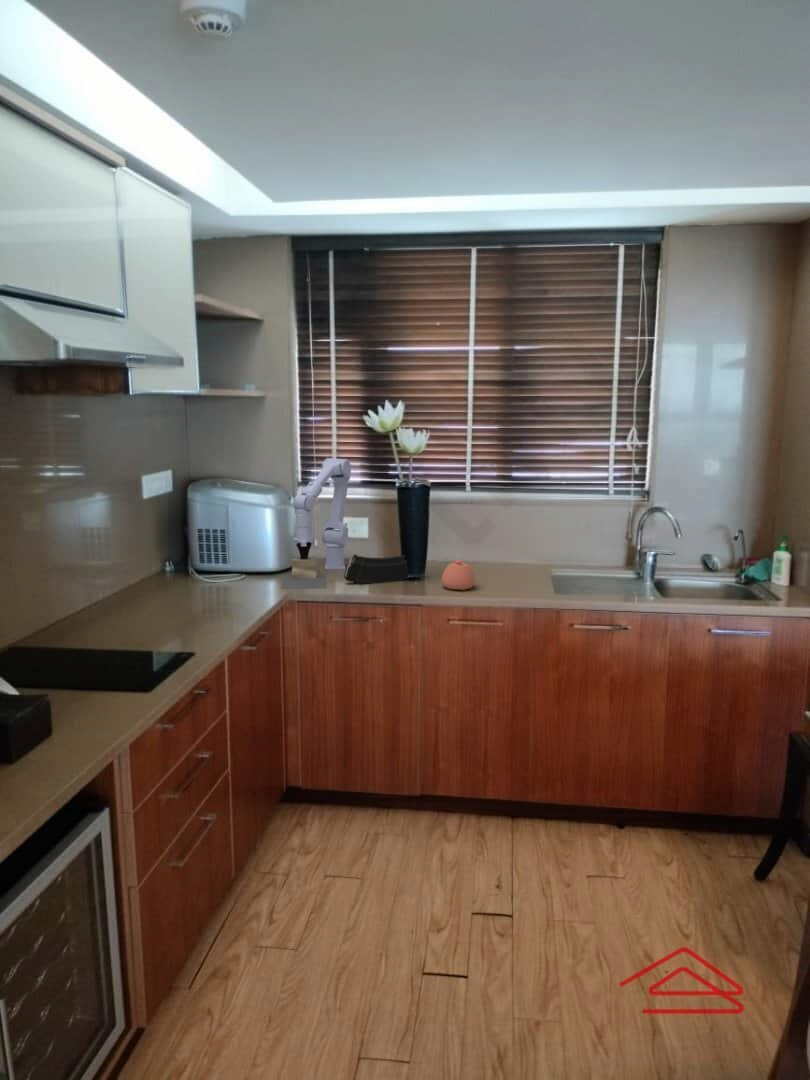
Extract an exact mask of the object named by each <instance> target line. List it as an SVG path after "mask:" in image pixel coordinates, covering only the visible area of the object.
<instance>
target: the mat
mask: <svg viewBox="0 0 810 1080" xmlns="http://www.w3.org/2000/svg"><path fill="white" fill-rule="evenodd" d="M280 589H281V590H294V589H295V590H297V589H299V590H300V589H308V590H309V589H327V577H326V574H316V578H302V579H292V574H284V575H283V578H282V581H281V588H280Z"/></svg>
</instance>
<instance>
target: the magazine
mask: <svg viewBox="0 0 810 1080" xmlns="http://www.w3.org/2000/svg"><path fill="white" fill-rule="evenodd" d="M404 555H405V554H403V556H402V555H397V556H396V555H395V556H386V557H369V556H367V557H366V556H360V555H359V556H358V554H353V556H352V557H351V558H350V559H349V561H348V565H345V569H344V570H345V571H344V574H343V577H344V579H345V581H347V582H353V584H354V585H356V584H357V583H359V584H382V583H392V582H398V581H403V580H404V581H405V580H407V579H406V578H407V577H408V567H407V561H406V560H405V556H404Z"/></svg>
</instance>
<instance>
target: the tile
mask: <svg viewBox="0 0 810 1080" xmlns="http://www.w3.org/2000/svg"><path fill="white" fill-rule="evenodd" d="M291 567H292V569H291V572H292V573H291V575H292V579H302V578H316V575H317V558H308V559H301V558H293V559H291Z"/></svg>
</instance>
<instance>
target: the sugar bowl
mask: <svg viewBox="0 0 810 1080" xmlns="http://www.w3.org/2000/svg"><path fill="white" fill-rule="evenodd" d="M441 584H442V585H443V586H444V588H446V589H447V590H449V591H452V590H459V591H461V590H465V591H466V590H468V589H471V588H473V586H474V585H475V584H476V578H475V574H474V571H473V570H472V568H471V566H470V565H469V564H467V563H464V562H463V560H459V559H458V560H455V562H452V563H448V565H447V566H446V567H445V569H444V570H443V573H442V576H441Z"/></svg>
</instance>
